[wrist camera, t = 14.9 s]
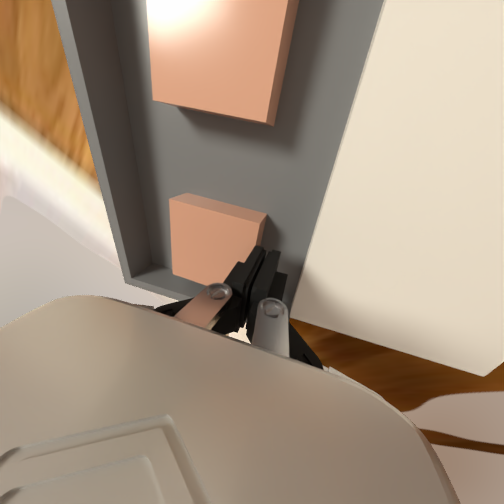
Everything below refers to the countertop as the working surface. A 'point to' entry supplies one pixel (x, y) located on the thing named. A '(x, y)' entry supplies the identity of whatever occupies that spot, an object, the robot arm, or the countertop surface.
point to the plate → (419, 192)
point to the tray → (211, 134)
